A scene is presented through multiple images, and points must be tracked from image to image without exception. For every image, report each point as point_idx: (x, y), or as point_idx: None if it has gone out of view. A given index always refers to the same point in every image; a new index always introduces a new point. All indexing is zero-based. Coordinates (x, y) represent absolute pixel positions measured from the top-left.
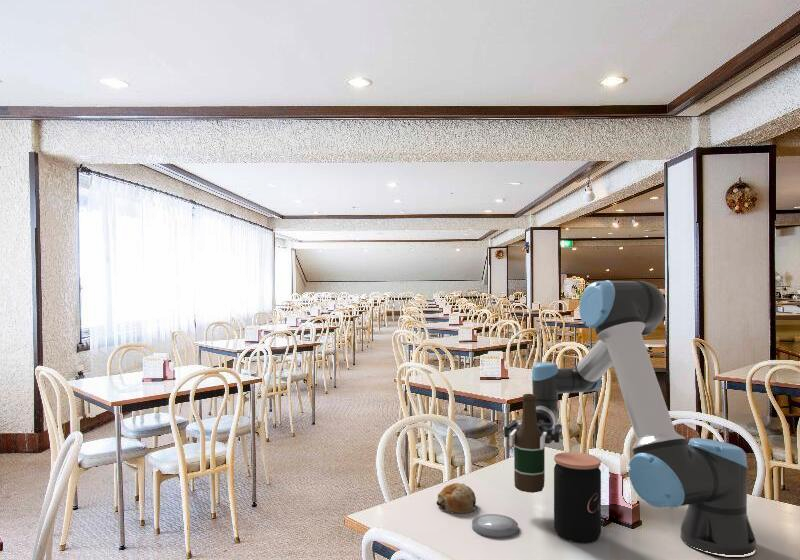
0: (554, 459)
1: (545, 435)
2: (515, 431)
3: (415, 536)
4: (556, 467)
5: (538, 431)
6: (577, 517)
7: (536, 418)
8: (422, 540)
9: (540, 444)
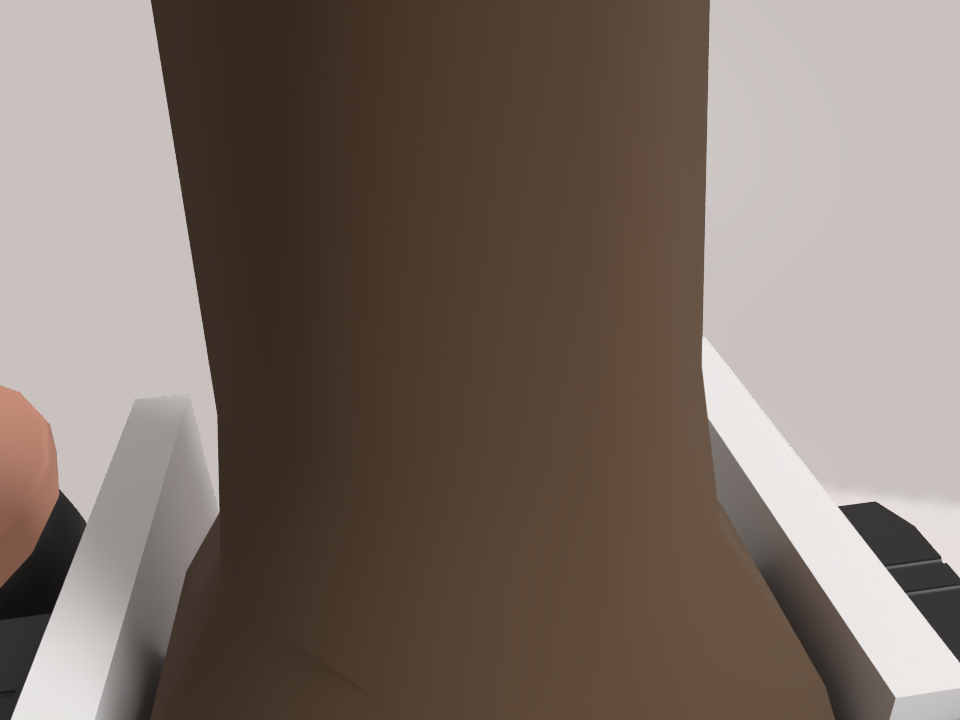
0: (55, 472)
1: (61, 624)
2: (783, 534)
3: (895, 504)
4: (61, 507)
5: (215, 526)
6: None
7: (213, 344)
8: (836, 492)
9: (204, 481)
